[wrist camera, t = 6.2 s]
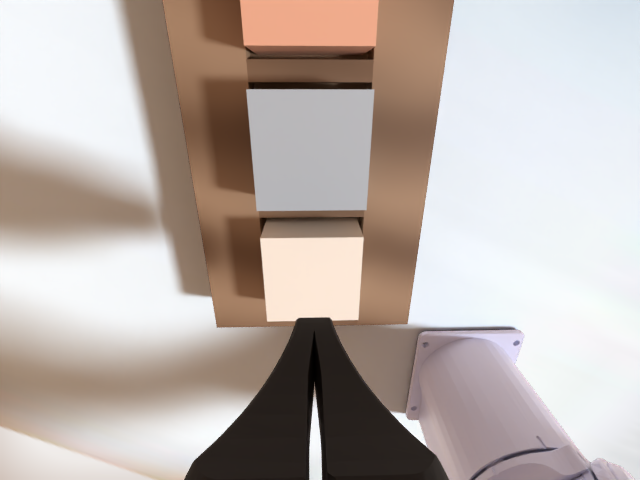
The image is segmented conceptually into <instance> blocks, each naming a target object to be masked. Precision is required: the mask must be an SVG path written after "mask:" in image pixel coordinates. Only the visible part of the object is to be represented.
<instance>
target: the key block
mask: <svg viewBox="0 0 640 480" xmlns="http://www.w3.org/2000/svg"><path fill="white" fill-rule="evenodd" d="M162 1H163V7H164V13H165V19H166V25H167V31H168V37H169V43H170V49H171V55H172V61H173V67H174V73H175V79H176V85H177V91H178V97H179V103H180V109H181V115H182V121H183V127H184V133H185V139H186V145H187V151H188V157H189V162H190V168H191V174H192V180H193V186H194V192H195V198H196V204H197V210H198V216H199V222H200V228H201V234H202V240H203V246H204V252H205V258H206V264H207V270H208V276H209V282H210V288H211V294H212V300H213V306H214V312H215V318H216V324H217V327H270V326H295V322H296V321H274V322H267V314H266V302H265V290H264V278H263V266H262V254H261V242H260V237H261V234H262V232H263V229H264V226H265V223H266V220H267V218H288V217H356V218H357V220H358V223H359V226H360V229H361V231H362V234H363V237H364V240H363V255H362V271H361V287H360V302H359V318H358V320H333V321H332V322H333V325H386V324H407V323H408V316H409V309H410V302H411V296H412V289H413V282H414V275H415V268H416V261H417V254H418V247H419V240H420V233H421V226H422V219H423V212H424V205H425V198H426V192H427V185H428V178H429V171H430V164H431V157H432V150H433V143H434V136H435V129H436V122H437V115H438V108H439V101H440V94H441V87H442V81H443V74H444V67H445V60H446V53H447V46H448V39H449V32H450V25H451V18H452V11H453V4H454V0H379V5H378V20H377V36H376V46H375V47H374V48H372V49H371V50H369V51H368V52H366V53H365V54H363V55H257V54H256V53H254V52H253V51H251V50H250V49H248V48H247V47H246V46H244V40H243V28H242V16H241V4H240V0H162ZM246 89H374V104H373V119H372V134H371V150H370V165H369V180H368V196H367V210H321V211H257V209H256V197H255V185H254V174H253V162H252V150H251V139H250V127H249V115H248V104H247V92H246Z"/></svg>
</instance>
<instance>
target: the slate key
mask: <svg viewBox="0 0 640 480" xmlns="http://www.w3.org/2000/svg"><path fill="white" fill-rule="evenodd" d="M246 92H247V104H248V115H249V127H250V139H251V150H252V162H253V174H254V185H255V197H256V209H257V211H321V210H367V196H368V180H369V165H370V150H371V134H372V119H373V104H374V89H246Z"/></svg>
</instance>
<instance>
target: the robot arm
mask: <svg viewBox="0 0 640 480" xmlns="http://www.w3.org/2000/svg"><path fill="white" fill-rule="evenodd" d="M523 340H524V334H523V333H522V332H521V331H520V330H475V331H425V332H422V333H420V334H419V336H418V342H417V348H416V354H415V360H414V366H413V372H412V378H411V384H410V390H409V396H408V402H407V408H406V417H407V418H408V419H409V420H419V423H420V426H421V429H422V432H423V435H424V438H425V441H426V444H427V447H428V448H427V447H426V446H425V445H423V444H422V443H421V442H420V441H419V440H418V439H417V438H416V437H414V436H413V435H412V434H411V433H410V432H409V431H408V430H407V429H406V428H405V427H404V426H403V425H402V424H401V423H400V422H399V421H398V420H397V419H396V418H395V417H394V416H393V415H392V414H391V413H390V412H389V410H388V409H387V408H386V407H385V406H384V405H383V404H382V403H381V402H380V401H379V399H378V398H377V397H376V396H375V394H374V393H373V392H372V391H371V389H370V388H369V387H368V385H367V384H366V383H365V381H364V380H363V379H362V377H361V376H360V374H359V373H358V371H357V370H356V368H355V367H354V365H353V363H352V362H351V360H350V358H349V357H348V355H347V353H346V351H345V349H344V348H343V346H342V344H341V342H340V340H339V338H338V335H337V333H336V331H335V328H334V325H333V322H332V319H331V318H330V317H315V318H298V319H297V320H296V322H295V326H294V329H293V332H292V334H291V337H290V339H289V342H288V344H287V346H286V348H285V350H284V352H283V354H282V356H281V358H280V359H279V361H278V363H277V365H276V366H275V368H274V370H273V371H272V373H271V375H270V376H269V378H268V379H267V381H266V382H265V384H264V385H263V387H262V388H261V389H260V391H259V392H258V394H257V395H256V396H255V397H254V399H253V400H252V401H251V403H250V404H249V405H248V406H247V408H246V409H245V410H244V411H243V412H242V414H241V415H240V416H239V417H238V418H237V419H236V420H235V421H234V422H233V423H232V425H231V426H230V427H229V428H228V429H227V430H226V431H225V432H224V433H223V434H222V435H221V436H220V437H219V438H218V439H217V440H216V441H215V442H214V443H213V444H212V445H211V446H210V447H209V448H207V449H206V450H205V451H204V452H203V453H202V454H201V455H200V456H199V457H198V458H197V459H196V460H194V462H193V463H192V465H191V467H190V469H189V471H188V473H187V475H186V477H185V479H184V480H309V444H310V429H311V418H312V406H313V394H314V382H315V390H316V399H317V408H318V418H319V427H320V436H321V450H322V480H635V479H634V478H633V477H632V475H631V474H629V473H628V472H627V471H626V470H625V469H624V468H623V467H621V466H619V465H616V464H613V463H610V462H609V463H608V462H607V461H606V460H604V459H602V458H597V459H596V460H594V461H593V462H591V463H590V462H589V461H588V460H587V459H586V458H585V457H584V456H583V455H582V453H581V452H580V451H579V449H578V448H577V446H576V445H575V444H574V442H573V441H572V440H571V438H570V437H569V436H568V434H567V433H566V432H565V430H564V429H563V428H562V426H561V425H560V424H559V422H558V421H557V420H556V418H555V417H554V416H553V414H552V413H551V412H550V410H549V409H548V408H547V406H546V405H545V404H544V402H543V401H542V400H541V398H540V397H539V396H538V394H537V393H536V392H535V390H534V389H533V388H532V386H531V385H530V384H529V382H528V381H527V380H526V378H525V377H524V376H523V374H522V373H521V372H520V370H519V369H518V368H517V366H516V365H515V363H516V360H517V357H518V354H519V351H520V348H521V345H522V342H523ZM514 341H515V342H514ZM424 342H427V343H425V344H423V343H424Z"/></svg>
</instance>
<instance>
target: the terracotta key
mask: <svg viewBox="0 0 640 480" xmlns="http://www.w3.org/2000/svg"><path fill="white" fill-rule="evenodd" d="M240 4H241V16H242V28H243V40H244V46H246V47H247V48H248V49H250V50H251V51H253V52H254V53H256V54H257V55H363V54H365V53H366V52H368V51H369V50H371V49H372V48H374V47H375V46H376V36H377V20H378V5H379V0H240Z"/></svg>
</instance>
